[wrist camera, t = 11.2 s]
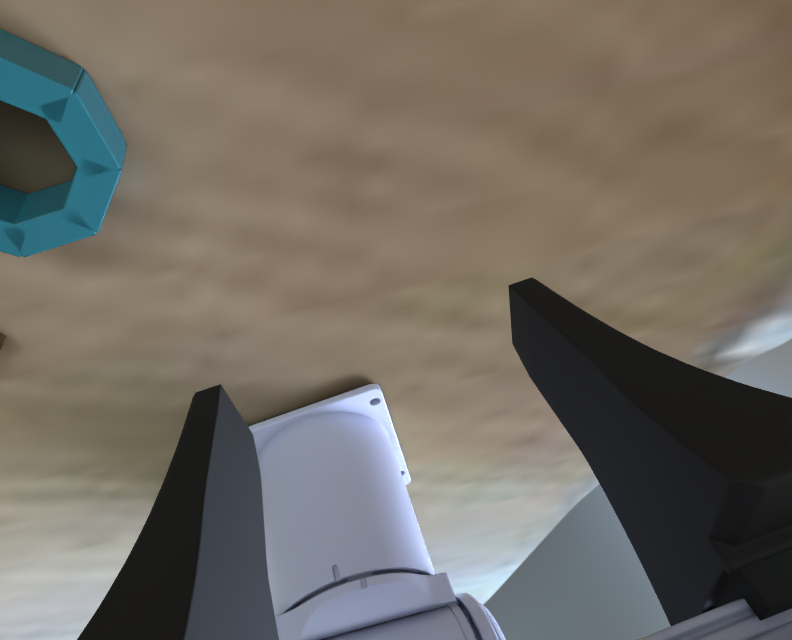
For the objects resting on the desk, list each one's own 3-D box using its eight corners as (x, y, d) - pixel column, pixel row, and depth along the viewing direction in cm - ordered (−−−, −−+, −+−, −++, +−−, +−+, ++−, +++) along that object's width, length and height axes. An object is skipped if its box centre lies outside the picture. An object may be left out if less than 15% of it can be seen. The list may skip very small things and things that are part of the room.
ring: (153, 188, 19) (150, 217, 17) (-15, 241, 18) (-33, 275, 17) (49, 4, 15) (35, 22, 14) (-167, 66, 15) (-205, 91, 13)
